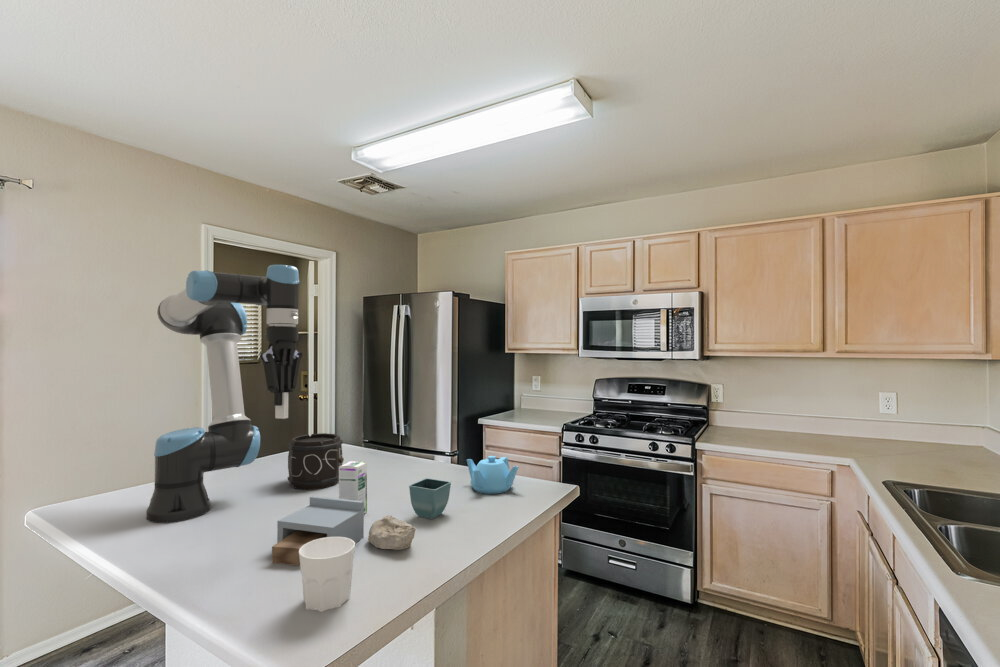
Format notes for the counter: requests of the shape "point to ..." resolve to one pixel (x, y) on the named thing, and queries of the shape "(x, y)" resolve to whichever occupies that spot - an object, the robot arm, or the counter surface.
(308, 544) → the cup
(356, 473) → the syrup box
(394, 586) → the counter surface
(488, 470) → the teapot
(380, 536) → the stone
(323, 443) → the coffee canister
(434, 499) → the flower pot
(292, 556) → the board
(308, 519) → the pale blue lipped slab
